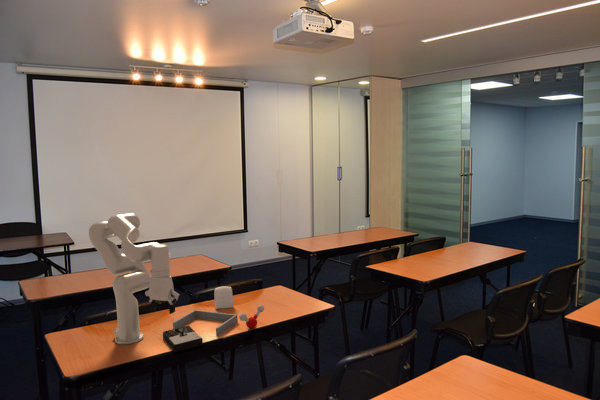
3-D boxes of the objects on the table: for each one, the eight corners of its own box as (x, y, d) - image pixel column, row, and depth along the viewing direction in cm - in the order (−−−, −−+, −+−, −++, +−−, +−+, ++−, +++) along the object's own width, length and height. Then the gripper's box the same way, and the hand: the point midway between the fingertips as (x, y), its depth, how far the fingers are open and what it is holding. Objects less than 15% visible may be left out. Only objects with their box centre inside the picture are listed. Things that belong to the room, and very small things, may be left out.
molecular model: (247, 335, 206) (246, 315, 205) (237, 333, 209) (236, 313, 208) (266, 323, 222) (265, 304, 221) (256, 321, 224) (255, 302, 223)
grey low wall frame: (173, 330, 216) (172, 322, 215) (195, 317, 233) (195, 309, 233) (218, 336, 206) (217, 328, 206) (237, 322, 224) (237, 314, 224)
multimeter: (189, 332, 213) (189, 322, 213) (203, 345, 197) (202, 335, 197) (162, 338, 206) (162, 328, 206) (174, 353, 190) (173, 342, 190)
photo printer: (214, 309, 244) (213, 288, 243) (215, 307, 249) (214, 286, 248) (233, 308, 246) (232, 287, 245) (233, 305, 250) (232, 284, 249)
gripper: (138, 274, 186) (141, 312, 187) (172, 276, 180) (174, 316, 181) (150, 270, 193) (152, 307, 194) (182, 272, 187) (184, 310, 188)
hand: (163, 311), depth 188 cm, fingers open, 9 cm apart
